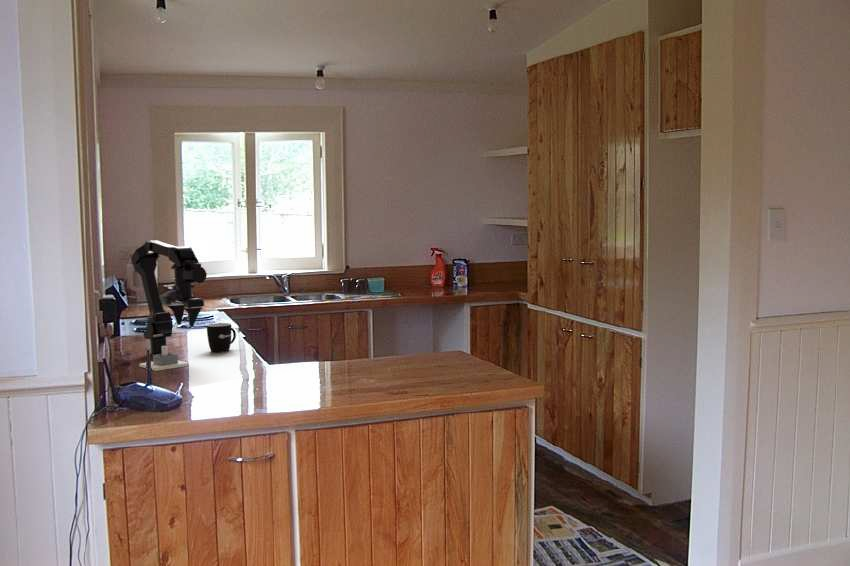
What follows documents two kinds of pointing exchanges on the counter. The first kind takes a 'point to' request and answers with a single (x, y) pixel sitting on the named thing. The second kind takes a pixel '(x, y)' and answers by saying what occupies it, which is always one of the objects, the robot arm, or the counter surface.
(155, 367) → the peg board
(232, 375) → the counter surface
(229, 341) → the mug
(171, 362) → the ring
